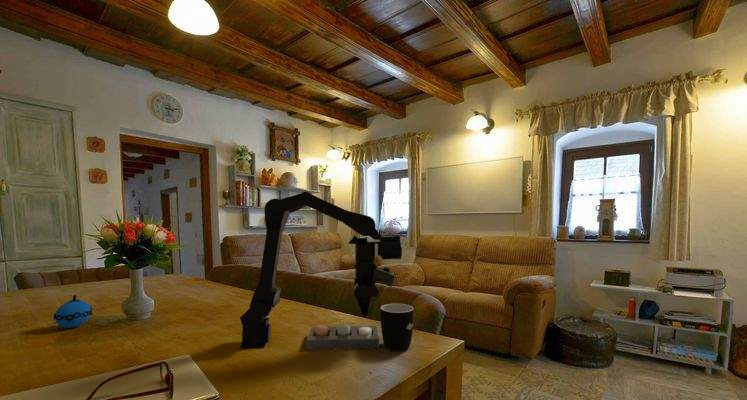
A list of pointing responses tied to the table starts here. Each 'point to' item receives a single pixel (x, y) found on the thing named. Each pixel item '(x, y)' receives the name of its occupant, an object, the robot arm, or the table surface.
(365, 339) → the grey holder
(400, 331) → the mug
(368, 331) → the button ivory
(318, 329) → the salmon pink rounded lump
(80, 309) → the ornament
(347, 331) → the egg sage
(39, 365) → the table surface
